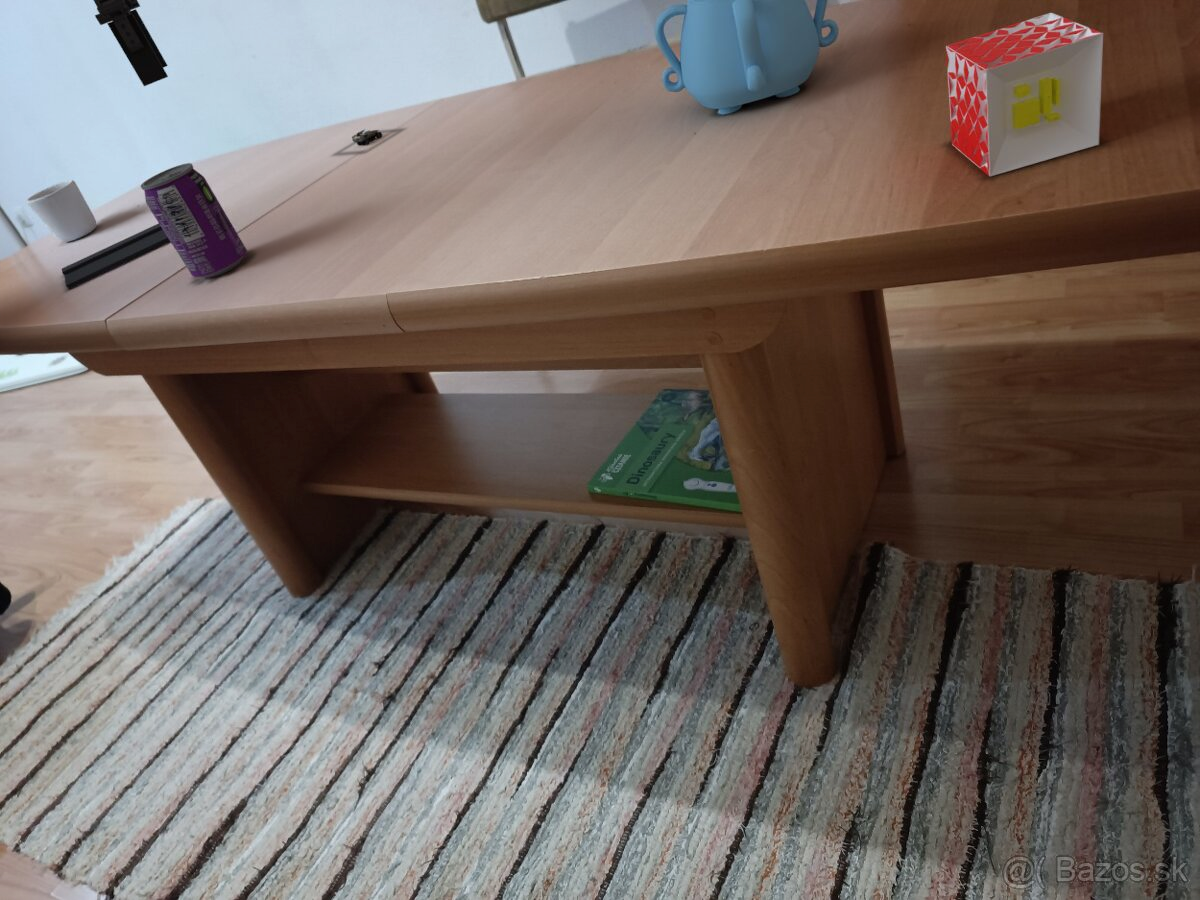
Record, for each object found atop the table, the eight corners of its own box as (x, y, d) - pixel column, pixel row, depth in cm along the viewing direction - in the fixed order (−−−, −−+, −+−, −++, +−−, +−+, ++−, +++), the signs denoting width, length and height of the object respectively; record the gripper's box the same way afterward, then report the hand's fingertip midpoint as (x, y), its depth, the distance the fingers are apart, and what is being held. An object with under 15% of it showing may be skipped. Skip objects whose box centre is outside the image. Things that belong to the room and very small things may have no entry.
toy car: (383, 136, 136) (377, 123, 135) (364, 147, 134) (358, 134, 133) (373, 137, 138) (367, 124, 137) (354, 147, 136) (348, 135, 135)
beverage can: (261, 252, 106) (207, 158, 99) (217, 282, 102) (158, 186, 95) (227, 254, 110) (173, 163, 103) (184, 282, 106) (124, 190, 99)
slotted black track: (69, 290, 120) (63, 282, 119) (66, 273, 128) (61, 266, 127) (204, 225, 126) (199, 218, 125) (194, 214, 133) (189, 206, 133)
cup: (66, 232, 151) (36, 189, 147) (110, 214, 152) (81, 171, 147) (52, 251, 142) (19, 206, 138) (98, 232, 143) (67, 187, 138)
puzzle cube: (989, 176, 65) (985, 69, 61) (951, 145, 72) (945, 46, 67) (1100, 144, 64) (1104, 32, 60) (1051, 114, 70) (1052, 12, 66)
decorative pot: (657, 118, 101) (624, -6, 94) (755, 63, 107) (732, -58, 99) (753, 128, 89) (725, -14, 81) (859, 65, 94) (842, -74, 86)
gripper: (58, -165, 79) (190, 72, 91) (80, -138, 99) (185, 54, 111) (-24, -137, 77) (120, 100, 89) (14, -115, 97) (128, 77, 109)
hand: (156, 75), depth 100 cm, fingers open, 13 cm apart
